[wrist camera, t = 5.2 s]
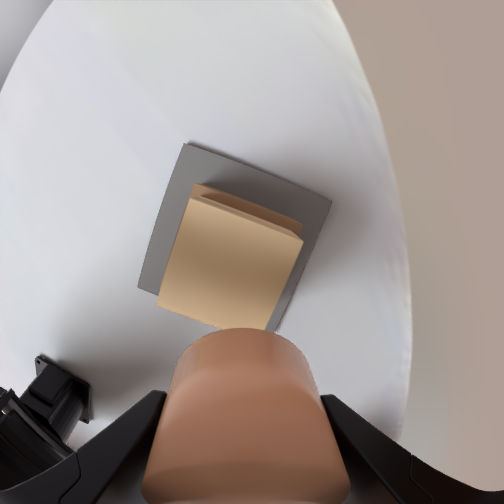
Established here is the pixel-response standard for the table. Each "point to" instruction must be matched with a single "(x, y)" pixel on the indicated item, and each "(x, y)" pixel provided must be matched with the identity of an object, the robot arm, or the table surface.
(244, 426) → the terracotta cylinder
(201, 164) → the mat
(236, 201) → the walnut block
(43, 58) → the table surface
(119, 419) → the robot arm
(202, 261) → the oak block
